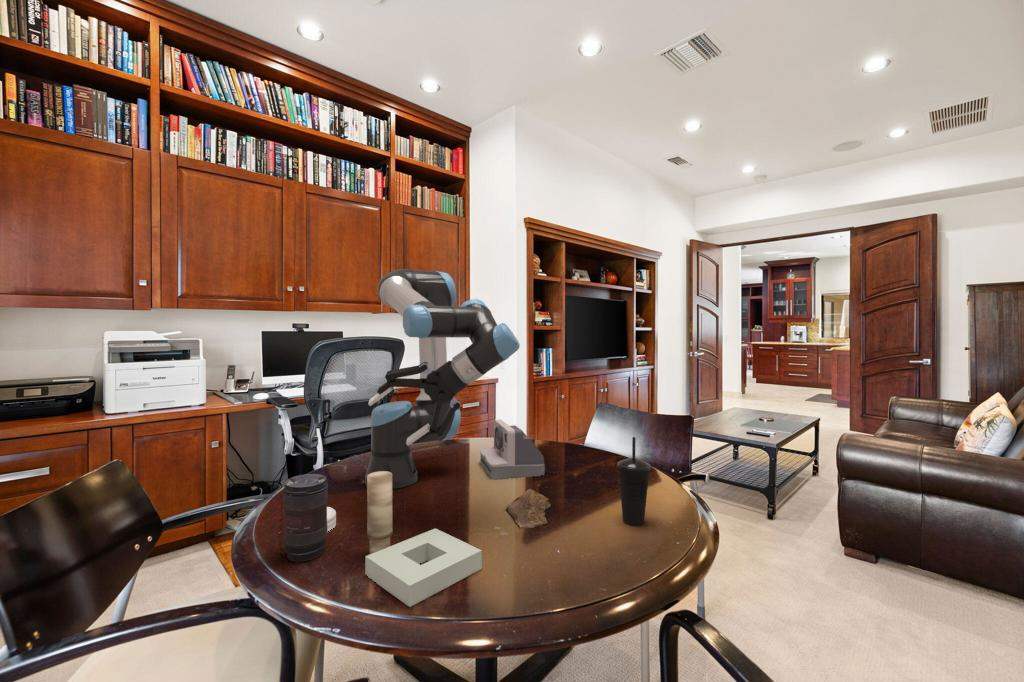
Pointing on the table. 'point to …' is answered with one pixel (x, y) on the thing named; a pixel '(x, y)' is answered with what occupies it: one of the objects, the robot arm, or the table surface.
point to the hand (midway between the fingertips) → (389, 422)
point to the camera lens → (305, 516)
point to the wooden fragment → (529, 509)
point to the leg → (379, 510)
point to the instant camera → (511, 454)
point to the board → (419, 582)
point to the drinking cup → (633, 488)
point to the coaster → (331, 518)
